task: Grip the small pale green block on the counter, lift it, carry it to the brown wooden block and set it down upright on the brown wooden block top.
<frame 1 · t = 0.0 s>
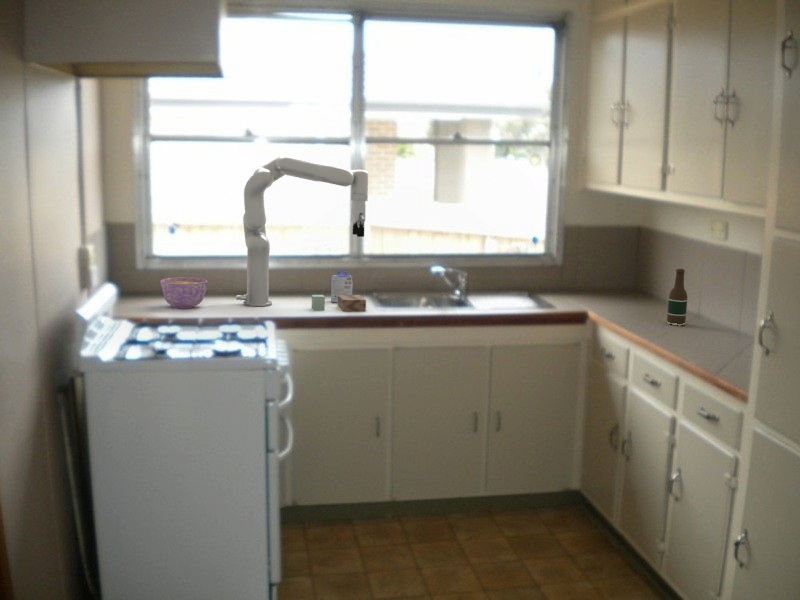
hand: (358, 235, 409), 31 cm above the counter, fingers open, 9 cm apart
ink cartridge box: (341, 302, 417), on the counter
beer bottle: (675, 324, 389), on the counter
bowl of food: (184, 307, 390), on the counter
pale green block: (318, 309, 396), on the counter
brown wooden block: (351, 308, 400), on the counter
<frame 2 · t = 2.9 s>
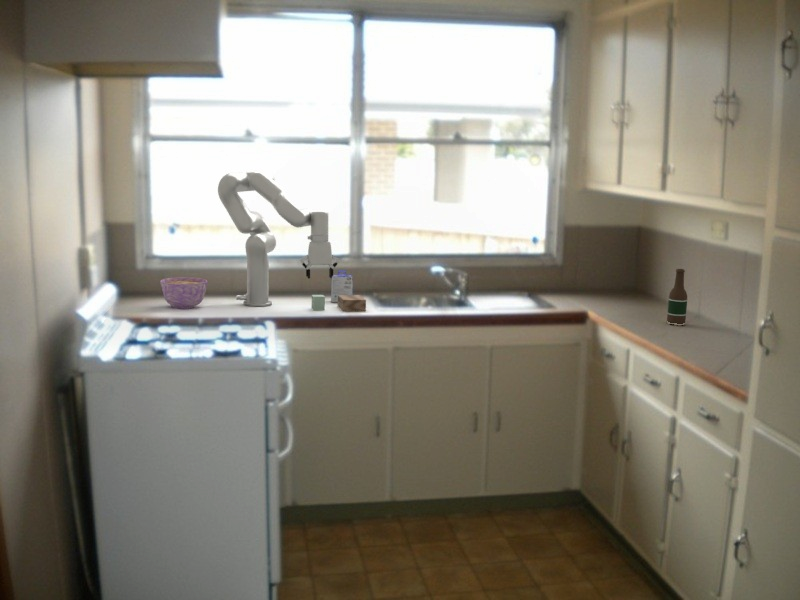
hand: (319, 277, 394), 14 cm above the counter, fingers open, 9 cm apart
nothing on the counter moved.
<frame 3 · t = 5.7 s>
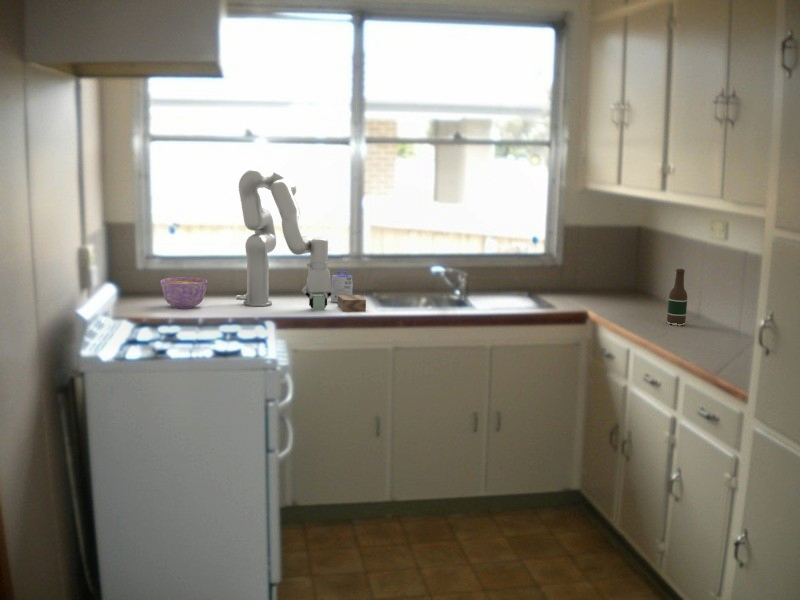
hand: (318, 306, 396), 1 cm above the counter, fingers closed on pale green block, 5 cm apart
pale green block: (318, 309, 396), on the counter, touching gripper
everything else where it was.
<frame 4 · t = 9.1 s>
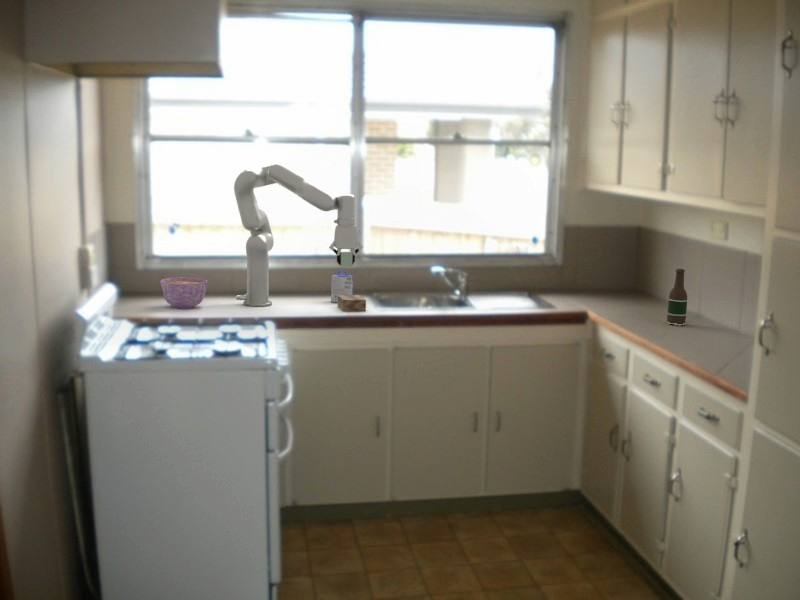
hand: (345, 263, 396), 20 cm above the counter, fingers closed on pale green block, 5 cm apart
pale green block: (345, 265, 396), point 19 cm above the counter, touching gripper
everything else where it was.
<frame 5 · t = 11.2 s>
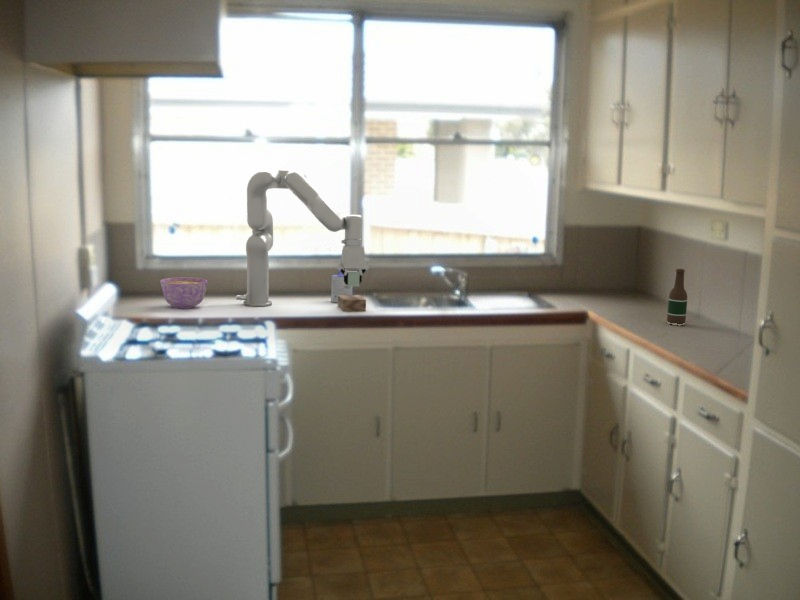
hand: (352, 283, 398), 11 cm above the counter, fingers closed on pale green block, 5 cm apart
pale green block: (352, 285, 398), point 10 cm above the counter, touching gripper
everything else where it was.
when the fingers open (7 cm above the counter, at t = 12.8 s): pale green block drops 1 cm, resting on brown wooden block.
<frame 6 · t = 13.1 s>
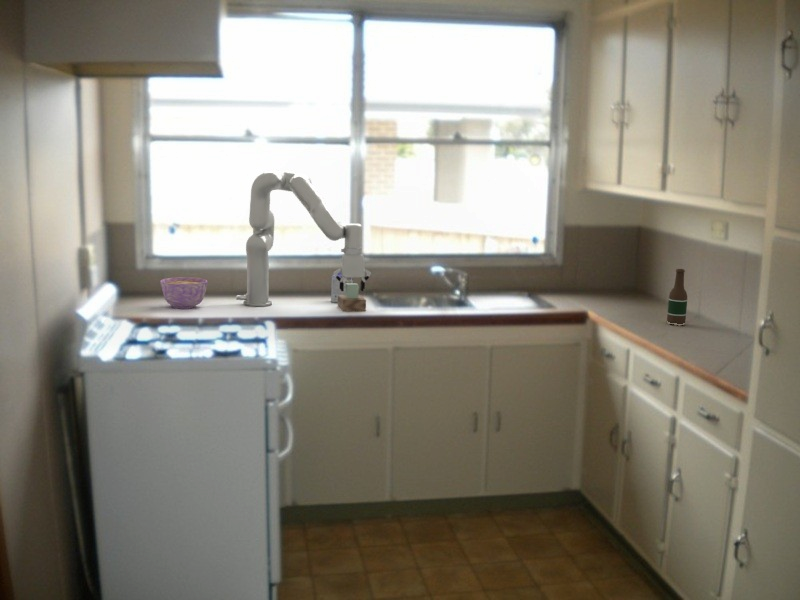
hand: (352, 290, 399), 8 cm above the counter, fingers open, 8 cm apart
pale green block: (351, 297, 399), point 5 cm above the counter, touching brown wooden block
everything else where it was.
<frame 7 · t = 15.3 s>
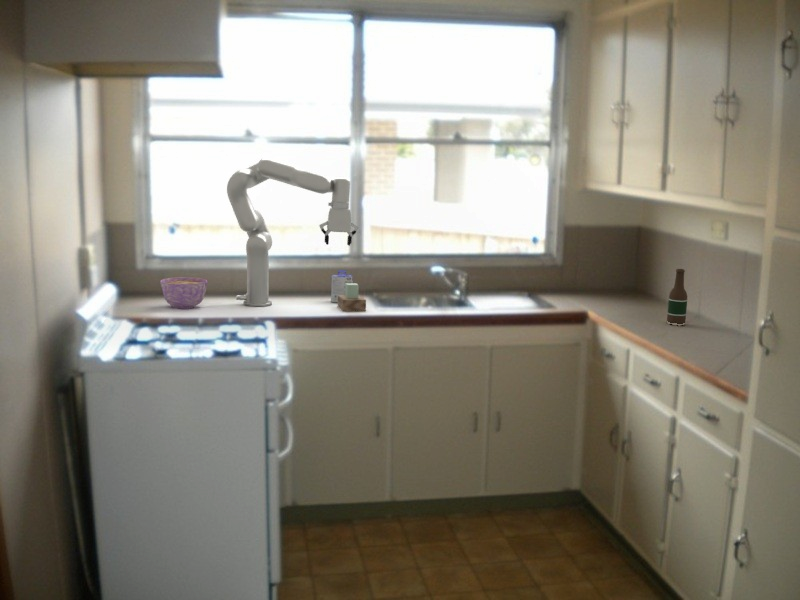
hand: (337, 244, 398), 28 cm above the counter, fingers open, 9 cm apart
nothing on the counter moved.
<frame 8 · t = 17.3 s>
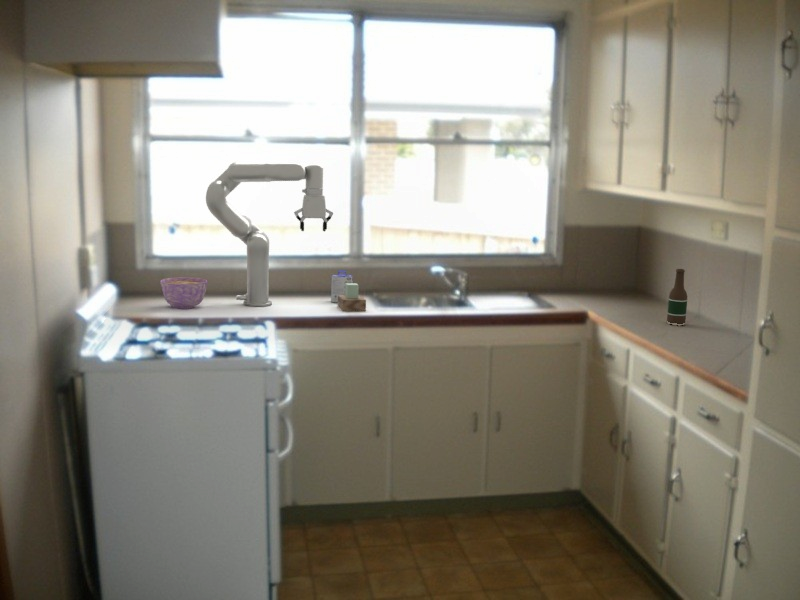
hand: (313, 231, 401), 33 cm above the counter, fingers open, 9 cm apart
nothing on the counter moved.
at the end: pale green block inside the target area on the brown wooden block (0.1 cm from its centre), point 5.0 cm above the brown wooden block's base; pale green block tilted 0°; the gripper is holding nothing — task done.
